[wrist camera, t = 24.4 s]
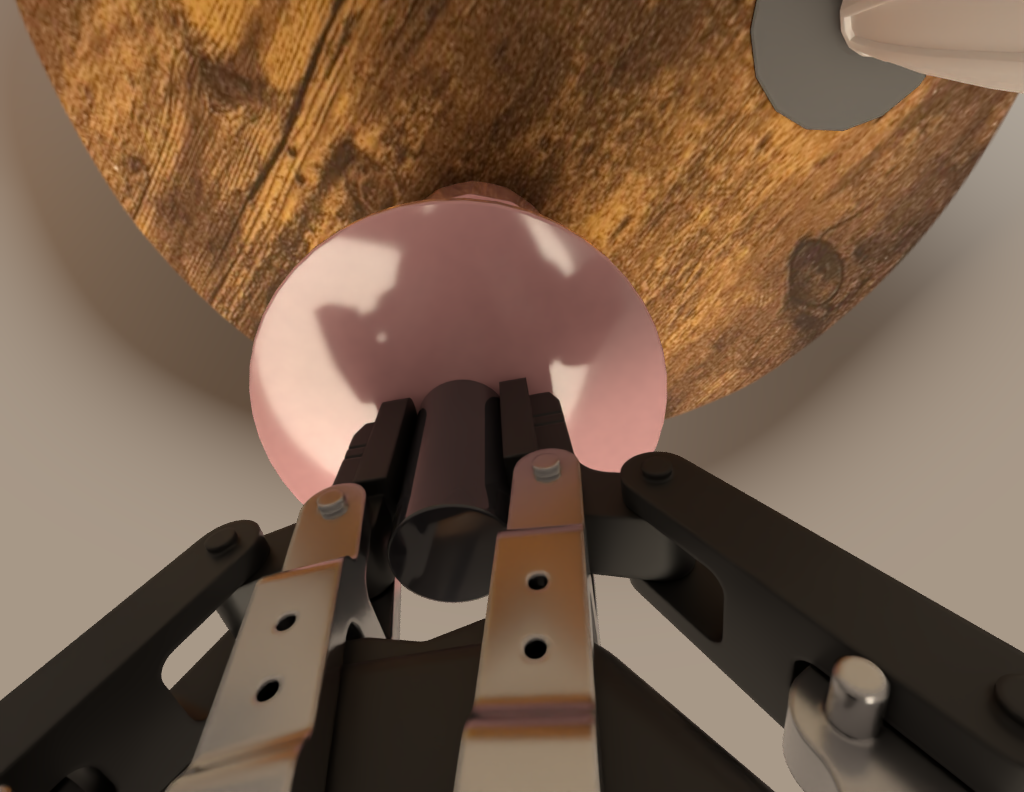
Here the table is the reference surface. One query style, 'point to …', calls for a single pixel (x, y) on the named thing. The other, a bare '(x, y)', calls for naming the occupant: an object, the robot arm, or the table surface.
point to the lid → (452, 367)
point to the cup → (879, 53)
